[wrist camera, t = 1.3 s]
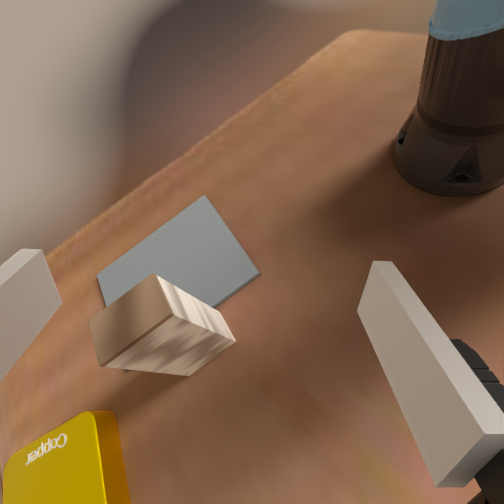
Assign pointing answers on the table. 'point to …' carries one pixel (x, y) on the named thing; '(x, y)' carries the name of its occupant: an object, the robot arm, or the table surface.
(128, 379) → the table surface
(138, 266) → the mat
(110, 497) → the element tile
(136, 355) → the tall block
